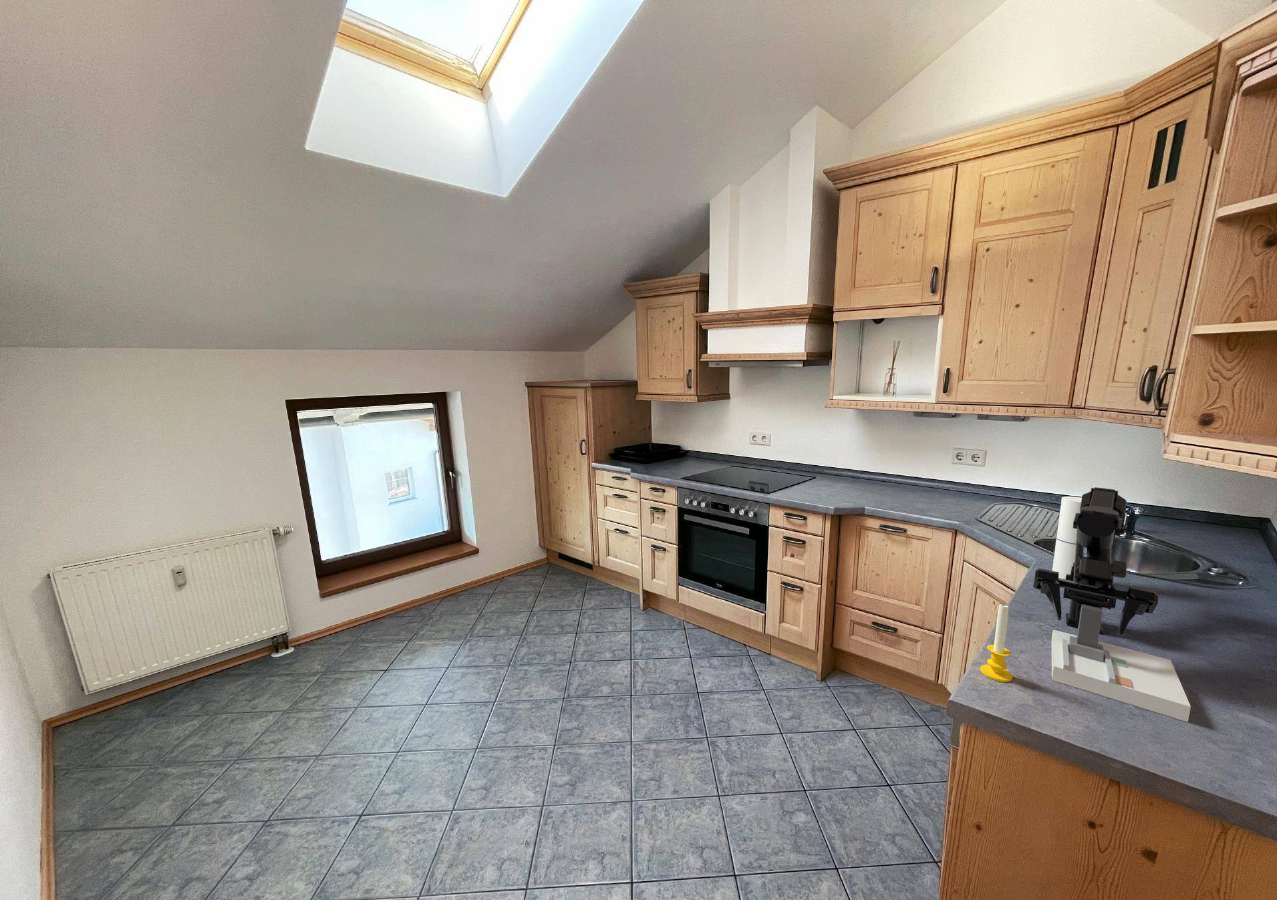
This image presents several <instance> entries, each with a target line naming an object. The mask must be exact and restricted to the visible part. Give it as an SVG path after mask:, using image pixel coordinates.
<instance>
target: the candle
mask: <svg viewBox="0 0 1277 900" xmlns="http://www.w3.org/2000/svg"><path fill="white" fill-rule="evenodd" d="M996 618H997V619H996V626H995V635H994V641H993V644H989V645H988V644H987V646H986V648H987V650H988V651H989V652H991V654H990V658H988V659H987V662H986V663H985V664H982V665H981V666H980V669H979V670H980V672H981V673H982V675H984V676H985V677H987V678H989V679H991V680H992V681H997V682H1002V683H1010V682H1011V681H1012V680H1013V675H1012V673H1010V672H1009V671H1008V670H1007V669H1008V665H1007V663H1006V662H1005V661H1006V658H1005V657H1008V656H1011V655H1012V652H1011V651H1010V650H1009V649H1008V648H1006V647H1005V645H1006V640H1007V639H1006V637H1007V631H1008V630H1007V628H1008V619H1009V606H1008V605H1005V603H1004V602H1003V604H999V606H998V611H997V617H996Z"/></svg>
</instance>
